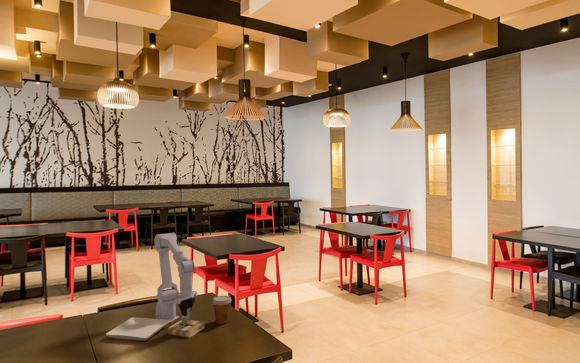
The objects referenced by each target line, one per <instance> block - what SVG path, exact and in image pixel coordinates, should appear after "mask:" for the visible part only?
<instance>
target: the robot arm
mask: <svg viewBox="0 0 580 363" xmlns="http://www.w3.org/2000/svg"><path fill="white" fill-rule="evenodd" d="M153 240H154V248H155V251H156V252H158V259H159V267H160V276H161V284H160V285H159V286H158V287H157V292H156V293H157V294H156V299H157V301H158V302H157V303H156V306H155V319H161V320H170V322H169V323H172V322H174V321H175V320H177V319H180V316H179V315H176V314H177V311H176V309H177V308H176V306H178V308H179V311H180V313H181V317H182V316H186V315H187V307H191V312H192V310H193V306H194V304H195V302H196V296H197V295H198V294H197V293H198V292H197V290H193V272H194V271H195V262H194V260H193V259H191V258H189V257H188V256H187V255H186V253H185V252H184V250H181V249H180V246H179V245H178V243H177V240H178V237H177V235H176V233H175V232H170V233H161V234H160V233H159V234H158V233H157V234H156V235H155V237H154V239H153ZM170 252H171V253H172V259H173V260H174V261H175V264H176V265H177V267H176V268H177V272H178V277H179V287H178V284H177V283H175V282H173V279H172V278H173V277H172V271H171V270H172V269H171V263H170V262H171V261H170V254H169V253H170Z"/></svg>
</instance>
